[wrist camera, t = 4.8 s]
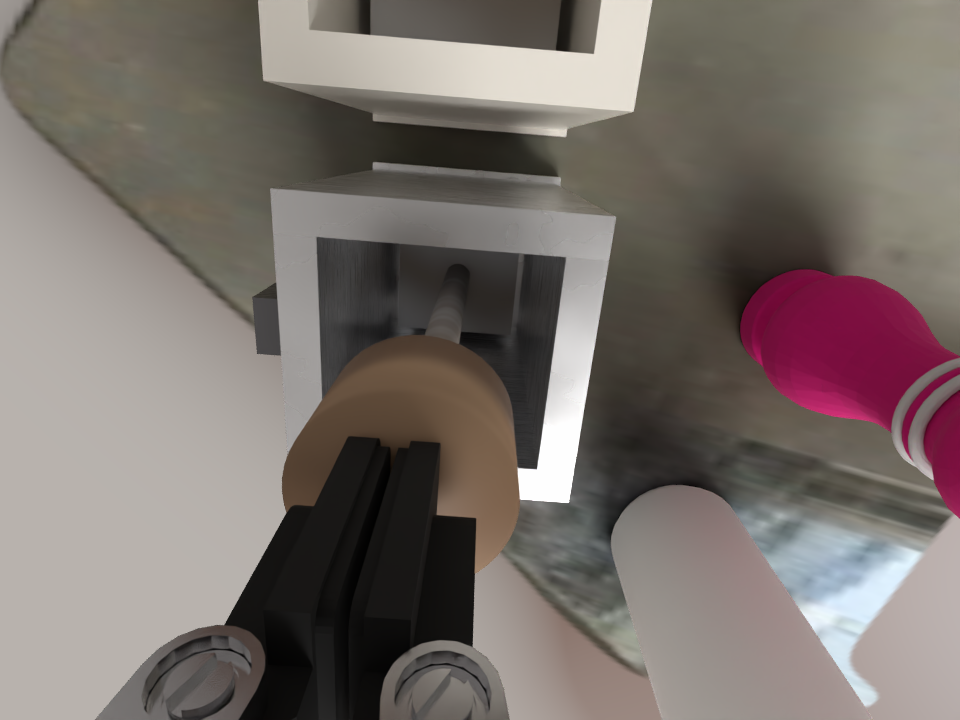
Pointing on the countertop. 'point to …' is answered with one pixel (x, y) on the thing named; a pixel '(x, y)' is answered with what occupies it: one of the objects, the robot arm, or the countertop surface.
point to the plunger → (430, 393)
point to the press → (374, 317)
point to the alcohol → (719, 617)
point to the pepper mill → (861, 363)
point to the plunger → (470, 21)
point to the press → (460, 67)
